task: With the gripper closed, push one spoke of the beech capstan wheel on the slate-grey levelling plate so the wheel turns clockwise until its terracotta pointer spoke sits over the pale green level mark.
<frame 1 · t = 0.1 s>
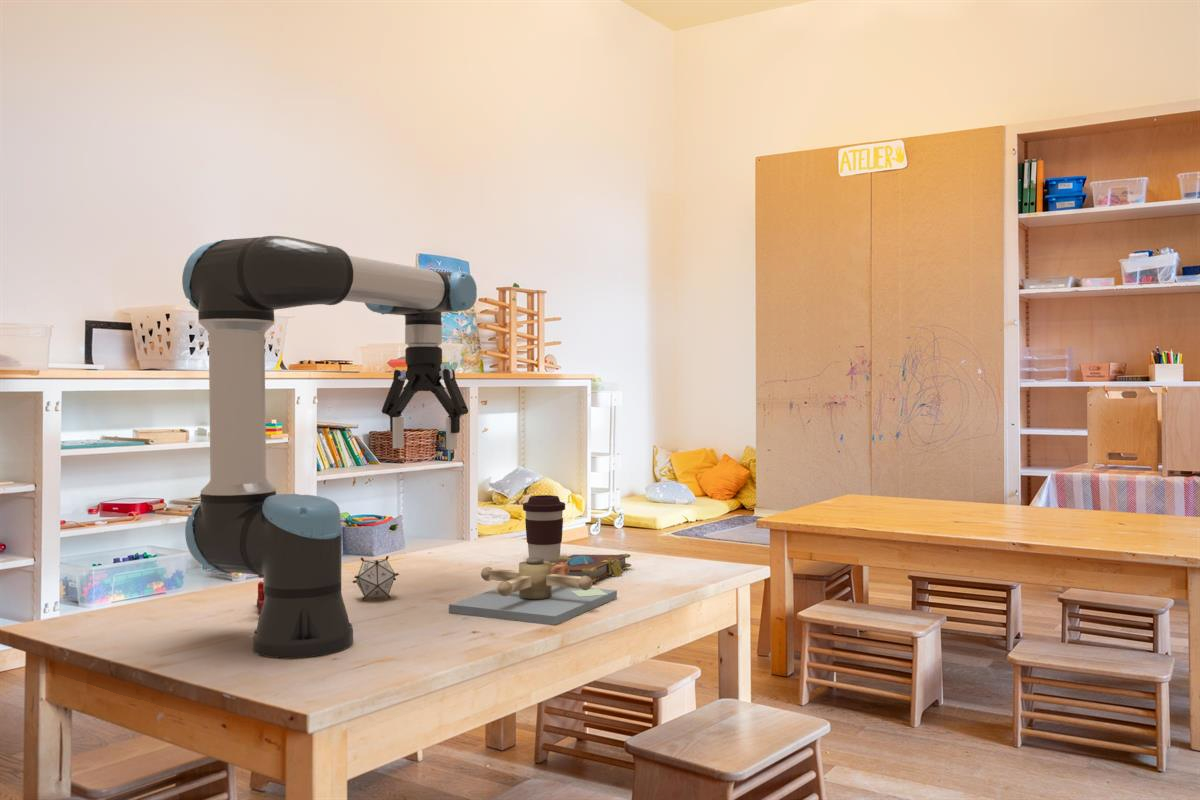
hand: (424, 448, 205), 28 cm above the table, fingers open, 13 cm apart
game die: (375, 599, 191), on the table
toy fire truck: (267, 612, 181), on the table
capstan: (535, 577, 184), point 5 cm above the table, hinge at 0.0°
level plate: (535, 605, 184), on the table
coffee cup: (544, 561, 233), on the table
book: (580, 579, 213), on the table
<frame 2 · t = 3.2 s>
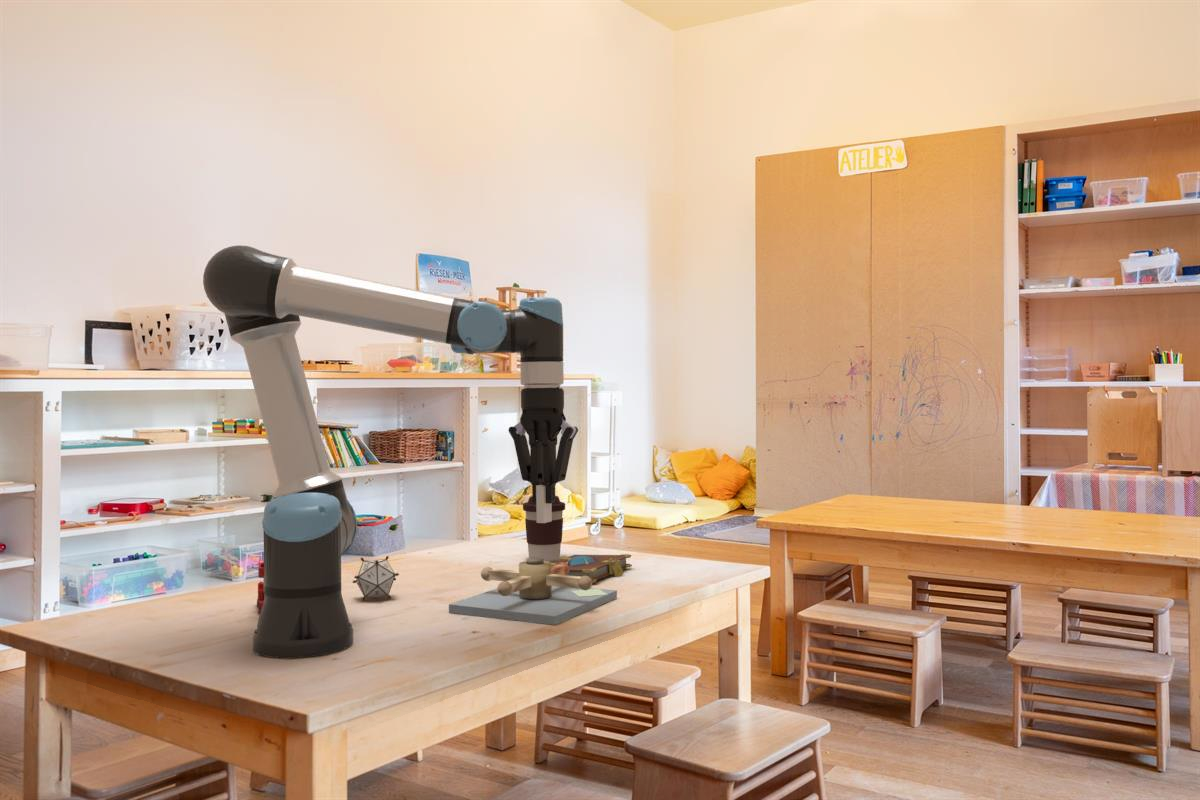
hand: (544, 521, 173), 17 cm above the table, fingers closed
nothing on the table moved.
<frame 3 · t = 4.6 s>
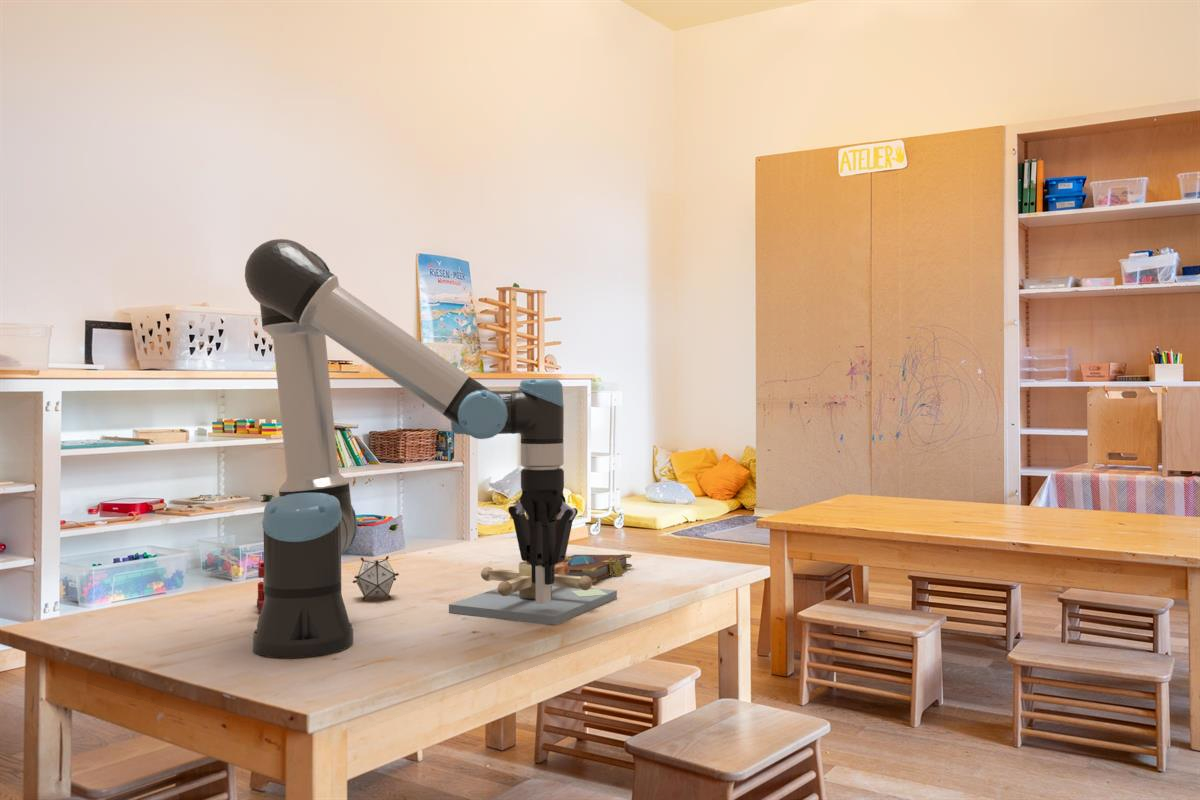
hand: (543, 602, 173), 3 cm above the table, fingers closed
nothing on the table moved.
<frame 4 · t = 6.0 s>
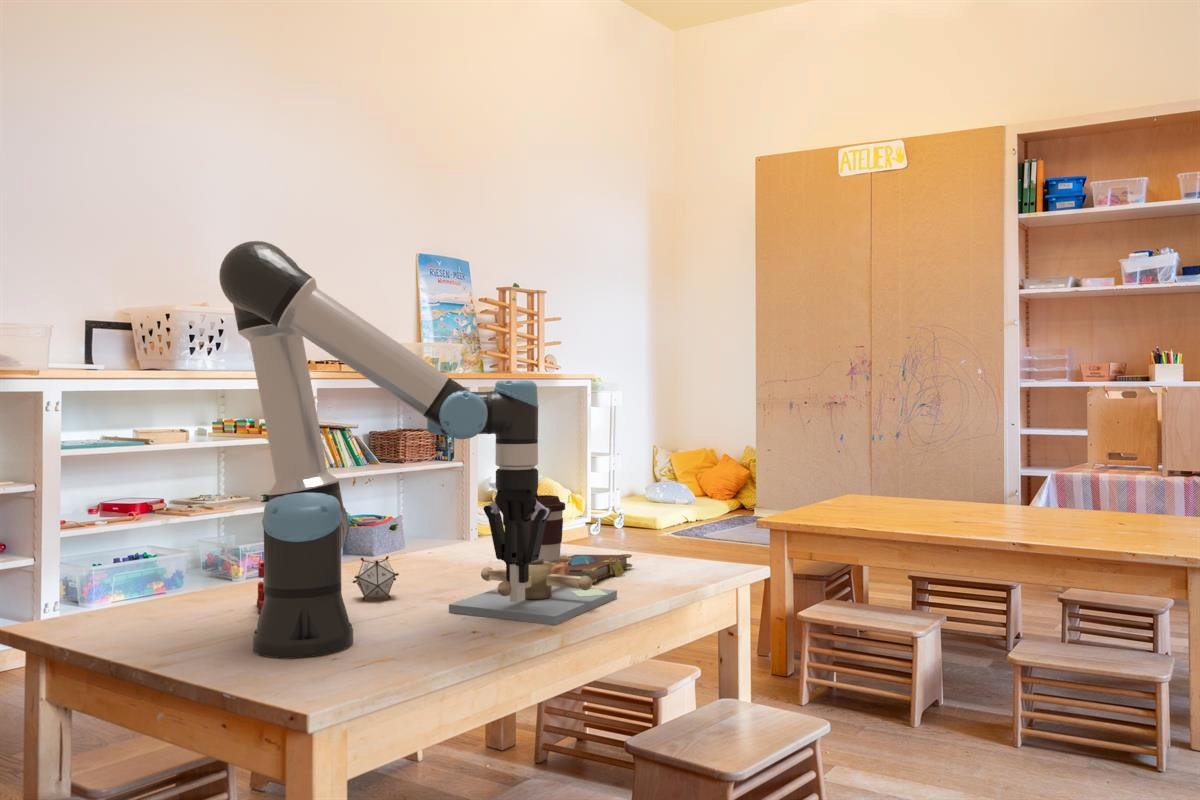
hand: (517, 600, 175), 3 cm above the table, fingers closed
capstan: (535, 577, 184), point 5 cm above the table, hinge at 0.0°, touching gripper
everything else where it was.
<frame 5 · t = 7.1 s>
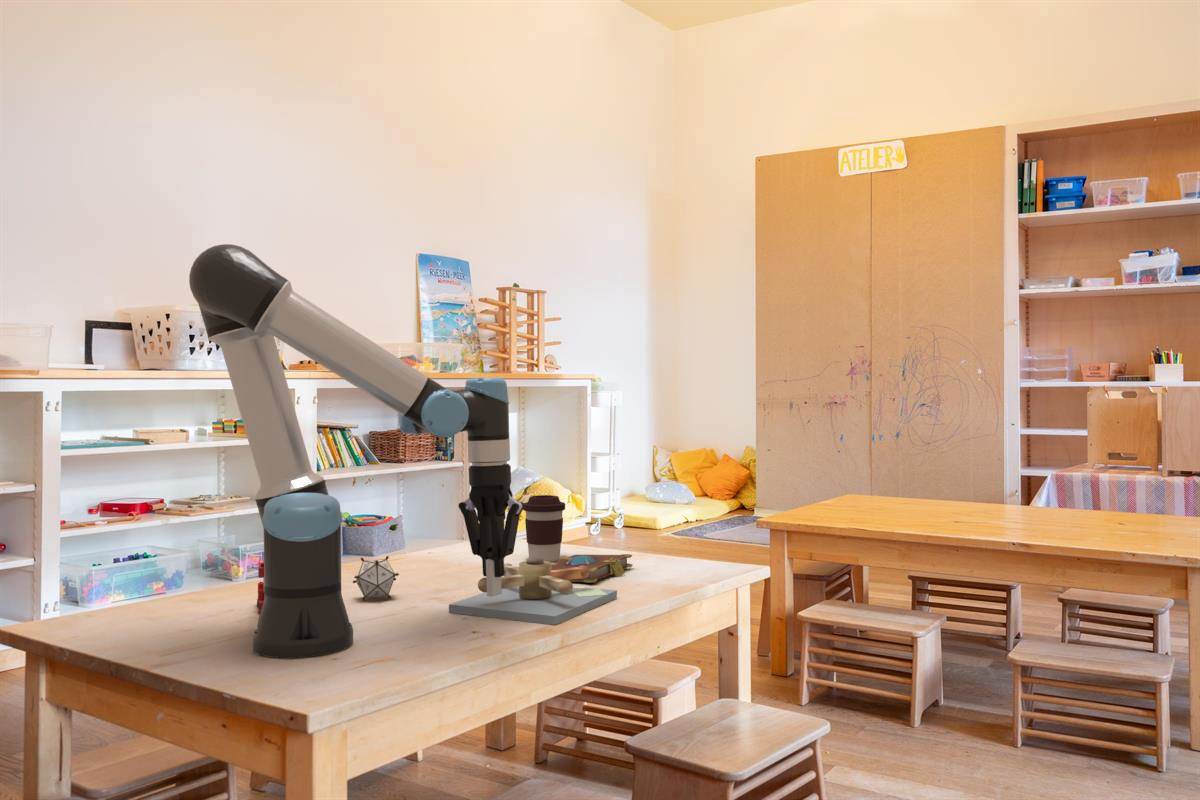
hand: (494, 594, 178), 3 cm above the table, fingers closed
capstan: (535, 577, 184), point 5 cm above the table, hinge at -28.7°, touching gripper
everything else where it was.
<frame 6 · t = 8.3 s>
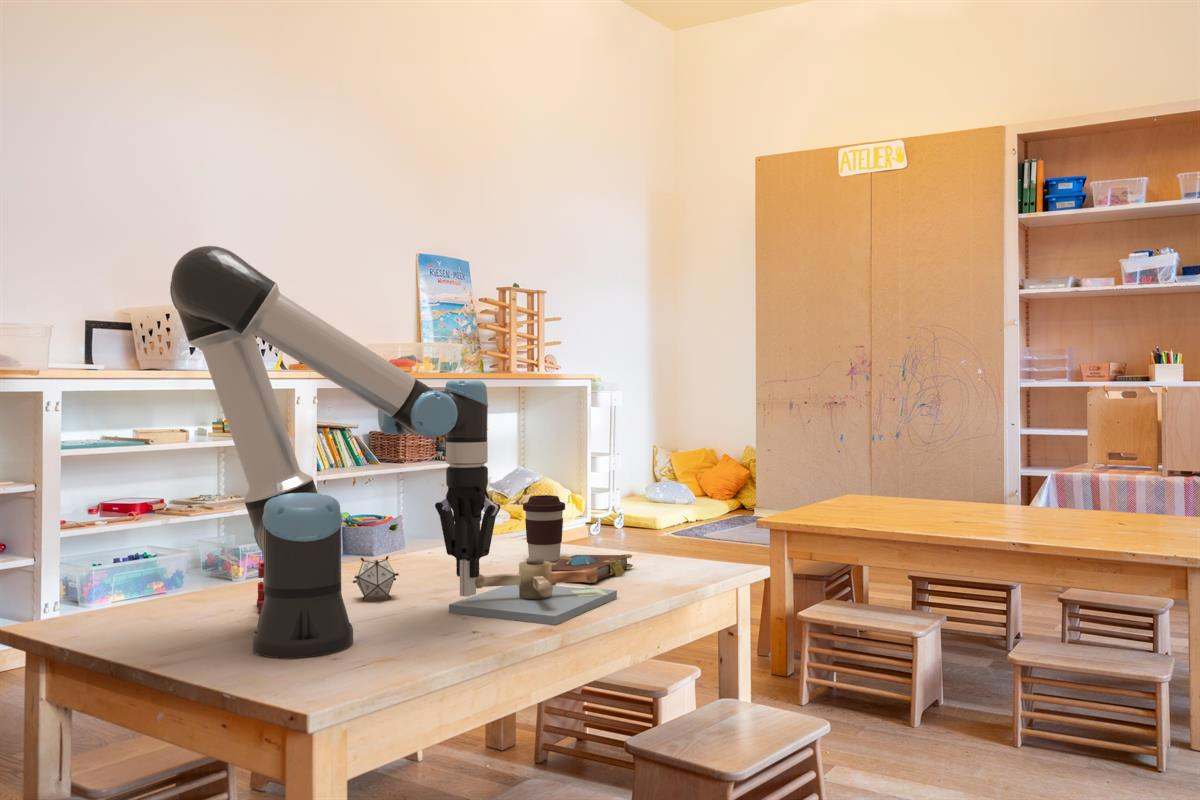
hand: (468, 594, 180), 3 cm above the table, fingers closed
capstan: (535, 577, 184), point 5 cm above the table, hinge at -49.6°, touching gripper
everything else where it was.
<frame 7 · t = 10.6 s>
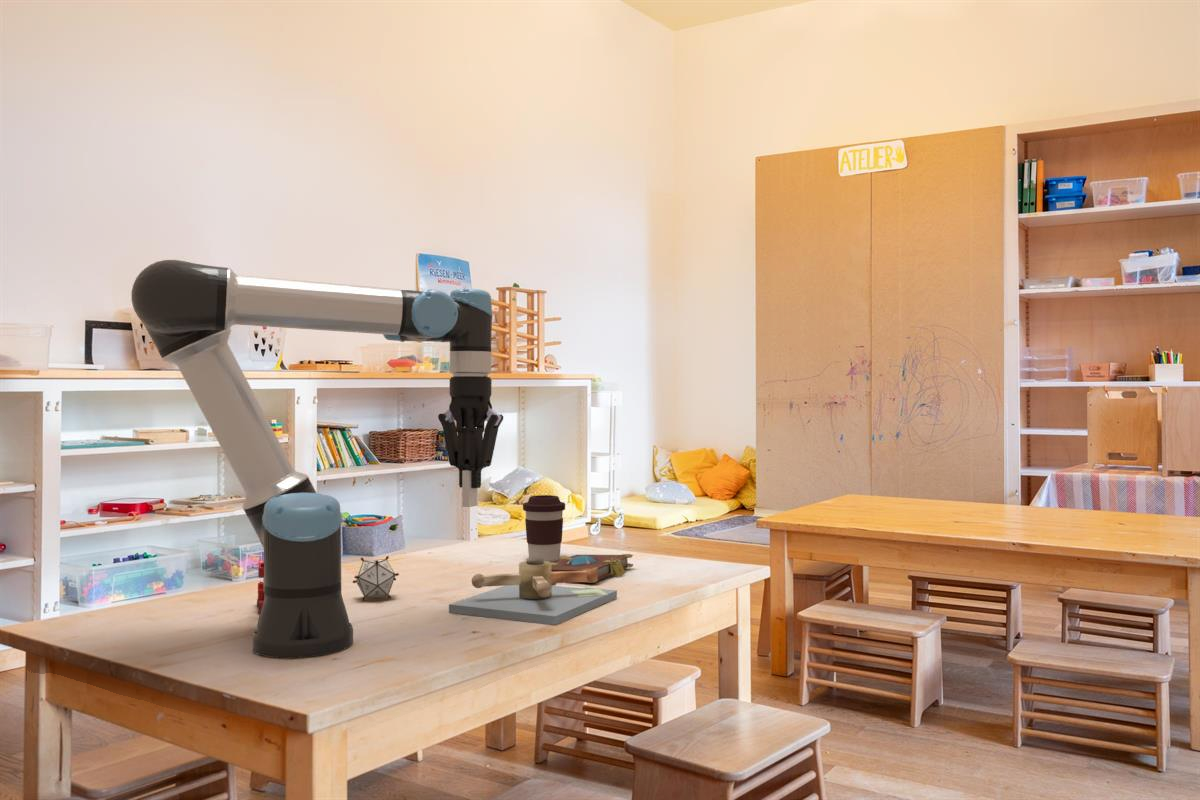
hand: (469, 506, 179), 19 cm above the table, fingers closed
capstan: (535, 577, 184), point 5 cm above the table, hinge at -51.0°
everything else where it was.
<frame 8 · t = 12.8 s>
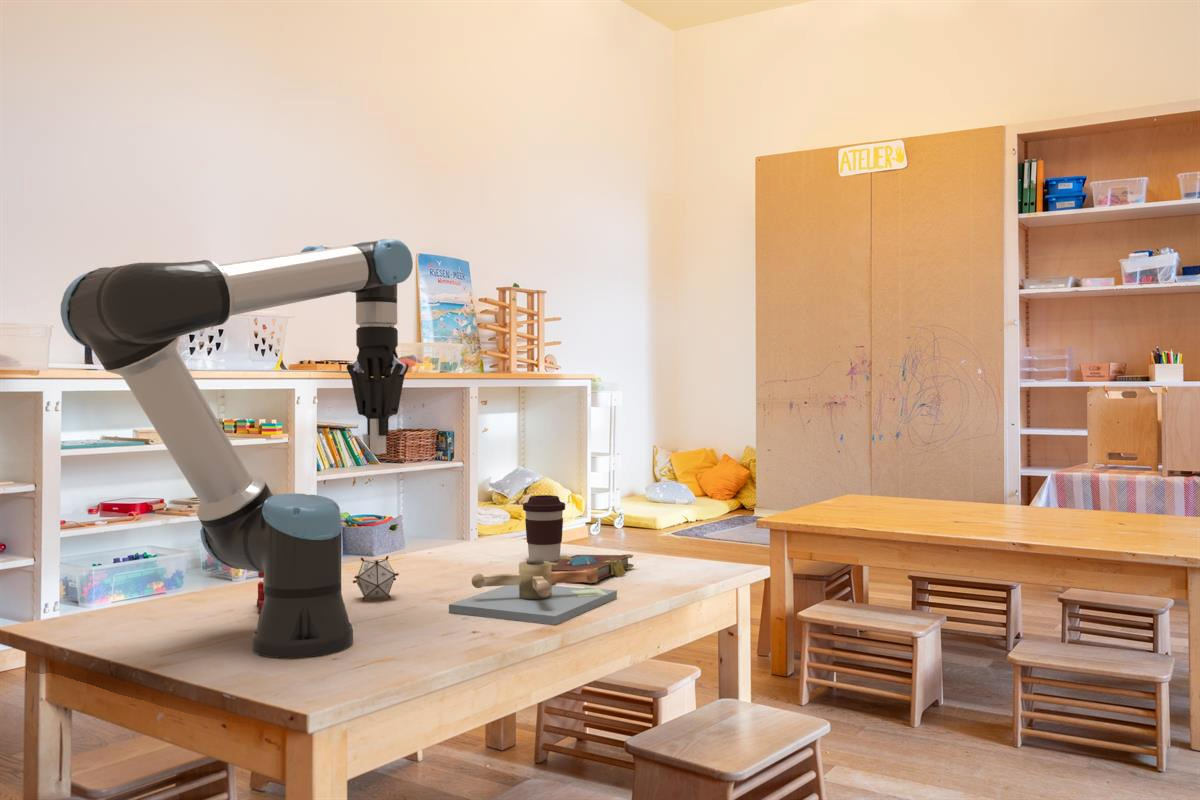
hand: (378, 453, 184), 28 cm above the table, fingers closed
nothing on the table moved.
at the end: capstan at -51° (first picture: +0°) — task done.
